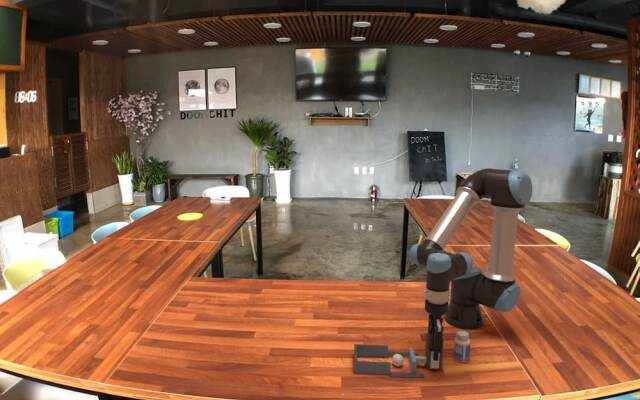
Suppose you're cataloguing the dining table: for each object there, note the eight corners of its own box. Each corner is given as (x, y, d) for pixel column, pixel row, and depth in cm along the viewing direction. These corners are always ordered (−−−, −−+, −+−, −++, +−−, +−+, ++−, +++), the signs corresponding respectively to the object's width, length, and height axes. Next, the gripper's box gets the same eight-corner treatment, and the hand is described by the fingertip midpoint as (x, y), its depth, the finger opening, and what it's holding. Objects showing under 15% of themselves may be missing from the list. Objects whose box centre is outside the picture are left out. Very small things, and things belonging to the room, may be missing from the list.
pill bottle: (466, 354, 160) (467, 329, 158) (471, 362, 155) (473, 337, 153) (451, 354, 160) (452, 329, 158) (456, 363, 155) (457, 337, 153)
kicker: (438, 359, 156) (439, 330, 154) (443, 373, 148) (445, 343, 145) (408, 358, 157) (410, 329, 155) (412, 372, 148) (413, 342, 146)
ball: (402, 362, 155) (403, 351, 154) (404, 368, 151) (404, 358, 150) (391, 361, 155) (391, 351, 154) (392, 368, 151) (392, 357, 150)
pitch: (418, 355, 159) (418, 345, 159) (424, 378, 146) (424, 367, 145) (353, 352, 161) (354, 342, 160) (354, 375, 147) (354, 364, 146)
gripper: (421, 289, 156) (418, 350, 161) (429, 310, 139) (426, 378, 144) (442, 290, 156) (439, 351, 160) (454, 311, 139) (449, 378, 143)
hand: (433, 363), depth 152 cm, fingers closed on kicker, 4 cm apart
